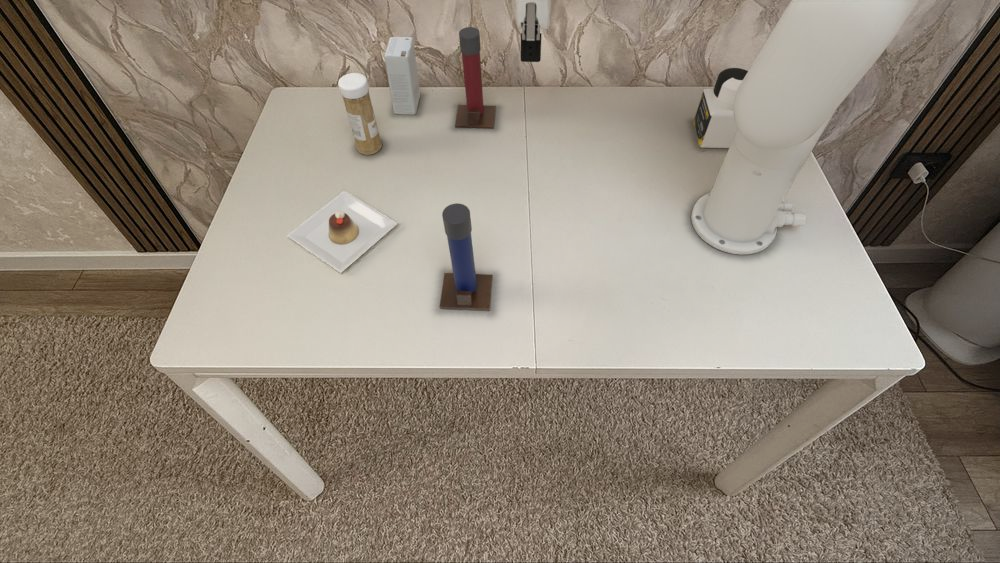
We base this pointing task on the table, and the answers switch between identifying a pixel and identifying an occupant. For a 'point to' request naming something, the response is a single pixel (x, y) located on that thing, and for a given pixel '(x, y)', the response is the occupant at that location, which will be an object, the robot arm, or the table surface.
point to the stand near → (466, 294)
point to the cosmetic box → (402, 75)
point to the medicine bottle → (718, 111)
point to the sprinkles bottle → (360, 112)
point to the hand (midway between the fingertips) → (530, 58)
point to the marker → (460, 246)
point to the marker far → (472, 67)
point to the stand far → (475, 117)
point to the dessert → (342, 230)
